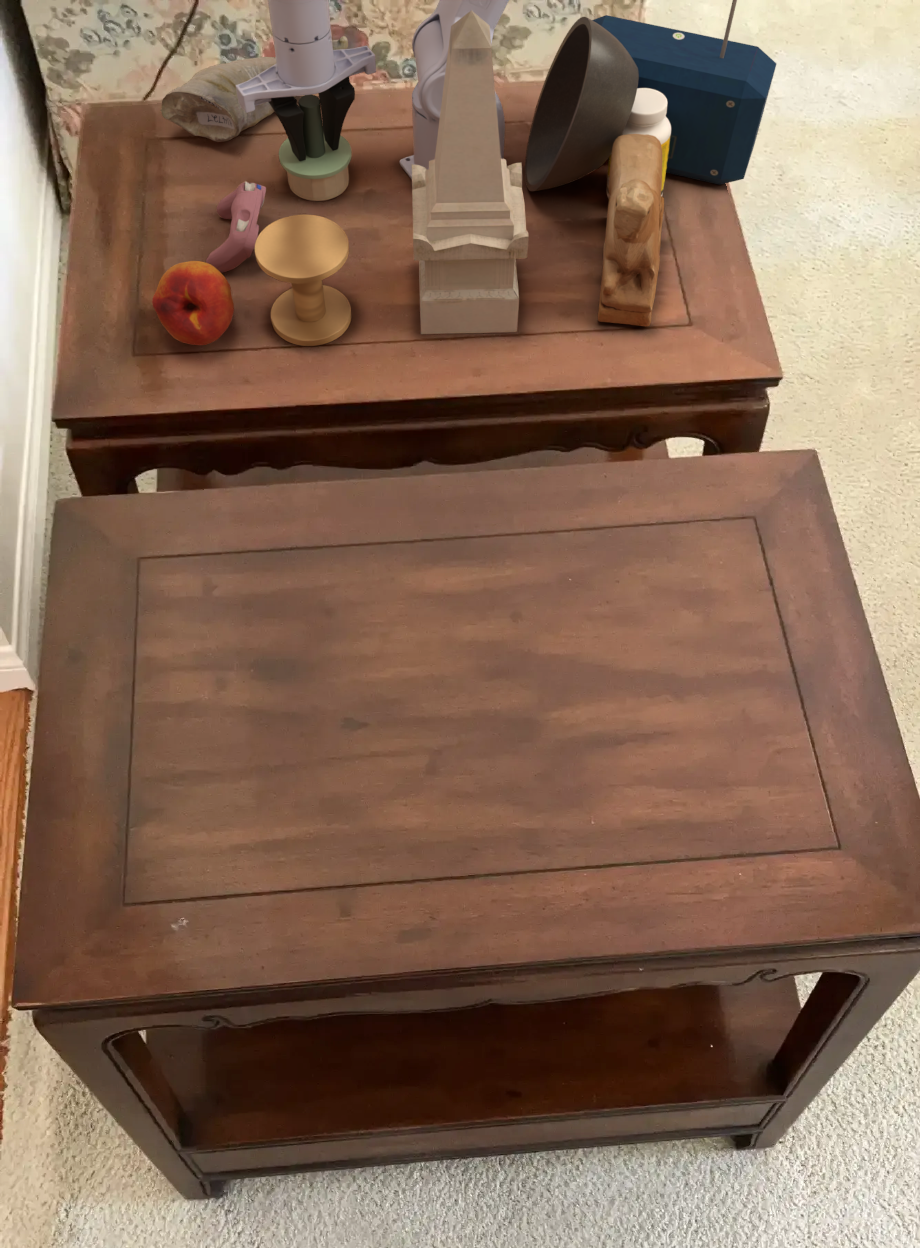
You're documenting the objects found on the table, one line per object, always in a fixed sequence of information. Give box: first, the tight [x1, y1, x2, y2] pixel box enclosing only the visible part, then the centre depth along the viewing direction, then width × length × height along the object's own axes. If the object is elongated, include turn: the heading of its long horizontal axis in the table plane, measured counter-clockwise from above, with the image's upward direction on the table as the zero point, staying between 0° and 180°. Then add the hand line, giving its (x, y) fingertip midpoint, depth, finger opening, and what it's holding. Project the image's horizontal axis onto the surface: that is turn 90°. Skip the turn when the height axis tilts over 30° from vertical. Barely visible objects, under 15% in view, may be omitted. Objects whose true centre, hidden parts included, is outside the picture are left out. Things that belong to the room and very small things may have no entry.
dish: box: [286, 165, 350, 202], centre depth 125 cm, size 7×7×3 cm
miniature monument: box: [411, 10, 530, 335], centre depth 104 cm, size 10×10×30 cm
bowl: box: [524, 16, 639, 192], centre depth 117 cm, size 12×22×6 cm
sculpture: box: [597, 134, 665, 327], centre depth 112 cm, size 6×17×15 cm, turn 172°
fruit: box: [151, 260, 235, 346], centre depth 111 cm, size 8×8×8 cm
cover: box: [278, 94, 353, 179], centre depth 121 cm, size 8×8×6 cm
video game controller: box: [205, 180, 267, 273], centre depth 118 cm, size 10×5×7 cm, turn 179°
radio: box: [591, 0, 777, 186], centre depth 121 cm, size 21×9×20 cm, turn 72°
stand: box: [254, 214, 352, 347], centre depth 111 cm, size 9×9×9 cm
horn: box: [160, 35, 349, 143], centre depth 128 cm, size 19×12×10 cm
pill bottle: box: [605, 88, 671, 199], centre depth 121 cm, size 6×6×11 cm
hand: (315, 149), depth 123 cm, fingers open, 3 cm apart
